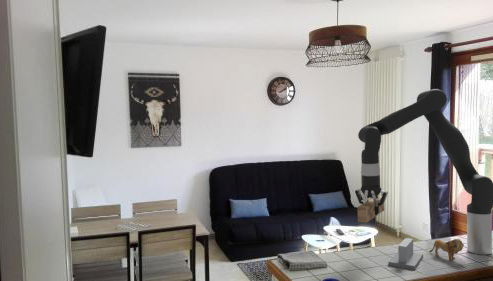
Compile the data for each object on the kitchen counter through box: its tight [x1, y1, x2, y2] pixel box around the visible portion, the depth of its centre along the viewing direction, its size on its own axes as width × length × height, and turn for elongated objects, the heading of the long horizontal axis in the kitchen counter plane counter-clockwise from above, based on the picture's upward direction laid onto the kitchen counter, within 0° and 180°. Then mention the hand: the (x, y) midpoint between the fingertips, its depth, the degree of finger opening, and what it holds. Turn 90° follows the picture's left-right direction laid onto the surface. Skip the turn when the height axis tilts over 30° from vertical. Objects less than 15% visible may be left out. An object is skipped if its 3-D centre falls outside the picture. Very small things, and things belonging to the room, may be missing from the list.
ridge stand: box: [388, 237, 424, 271], centre depth 162 cm, size 16×10×8 cm, turn 145°
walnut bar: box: [357, 196, 385, 224], centre depth 166 cm, size 24×4×6 cm, turn 144°
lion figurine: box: [429, 238, 465, 262], centre depth 165 cm, size 15×5×9 cm, turn 34°
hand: (371, 214), depth 167 cm, fingers closed on walnut bar, 3 cm apart
